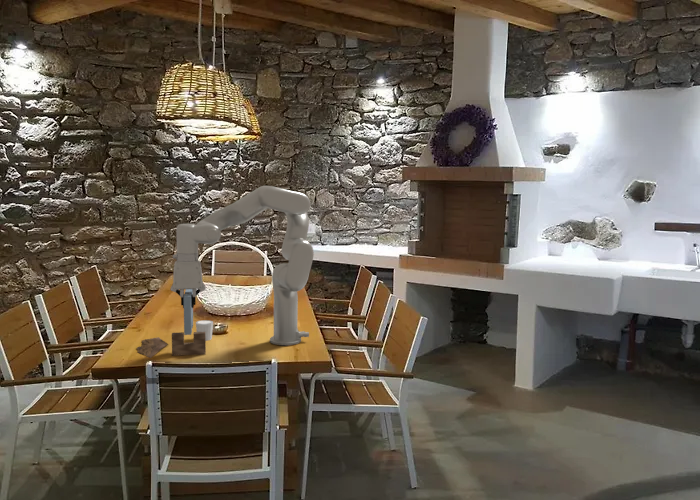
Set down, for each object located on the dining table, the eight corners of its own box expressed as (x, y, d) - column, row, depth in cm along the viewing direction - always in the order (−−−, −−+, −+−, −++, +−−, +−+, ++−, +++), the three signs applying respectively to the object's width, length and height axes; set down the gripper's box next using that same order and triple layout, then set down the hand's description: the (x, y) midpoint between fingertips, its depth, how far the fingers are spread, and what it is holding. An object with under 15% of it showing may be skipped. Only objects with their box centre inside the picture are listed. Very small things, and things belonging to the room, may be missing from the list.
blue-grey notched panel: (191, 334, 221) (190, 296, 219) (184, 334, 220) (183, 296, 218) (193, 324, 234) (192, 288, 232) (186, 325, 234) (186, 288, 232)
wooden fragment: (143, 339, 248) (143, 336, 247) (171, 338, 249) (171, 336, 249) (131, 359, 222) (131, 356, 222) (162, 358, 224) (162, 355, 224)
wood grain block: (205, 352, 231) (205, 331, 230) (205, 354, 228) (205, 333, 227) (172, 353, 228) (172, 332, 227) (172, 355, 226) (171, 334, 225)
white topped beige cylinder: (196, 341, 245) (196, 324, 244) (195, 337, 251) (195, 320, 250) (213, 340, 247) (213, 323, 246) (212, 336, 253) (212, 319, 252)
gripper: (163, 259, 218) (164, 310, 221) (209, 259, 222) (210, 308, 224) (165, 256, 226) (166, 305, 228) (210, 256, 229) (211, 304, 231)
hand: (188, 306), depth 226 cm, fingers closed on blue-grey notched panel, 2 cm apart
